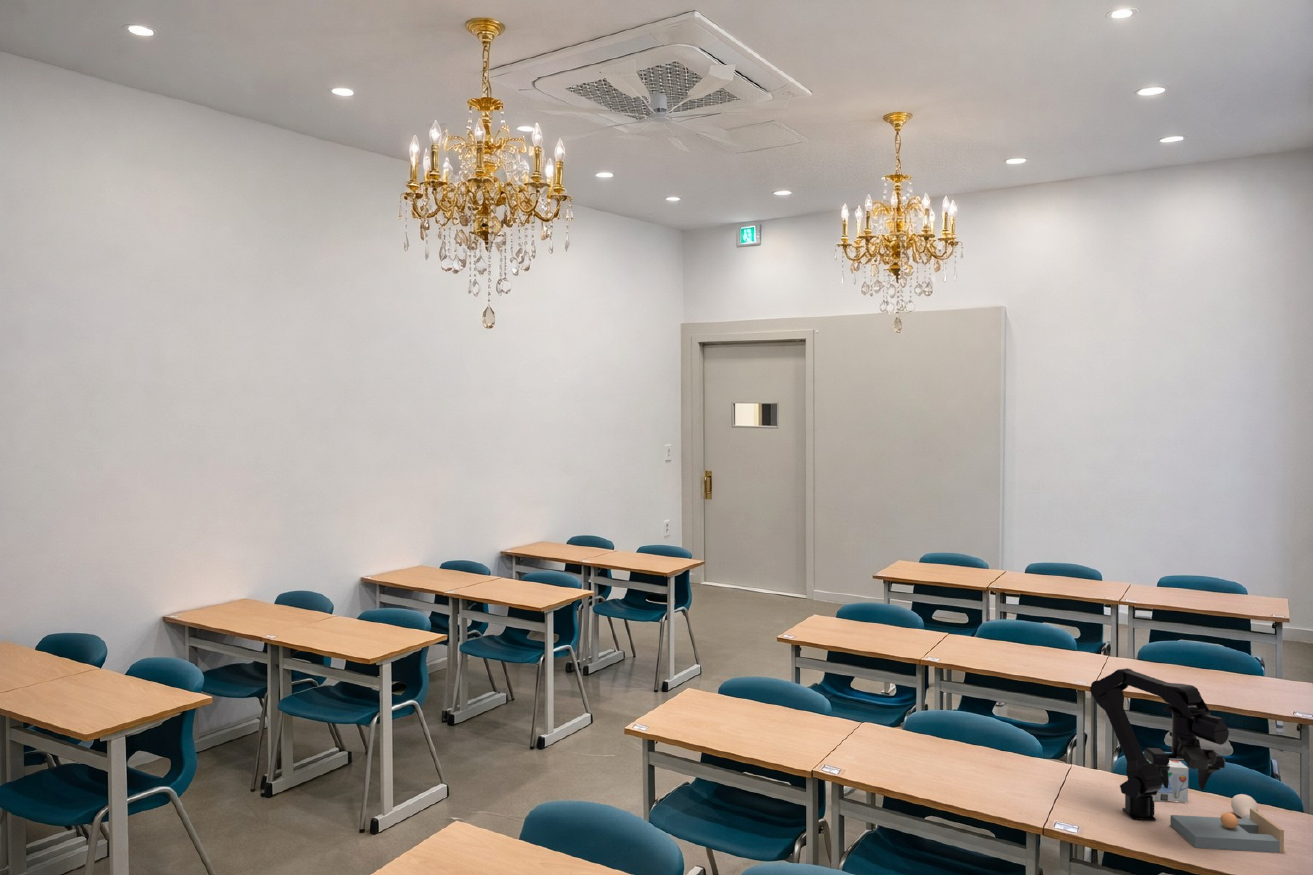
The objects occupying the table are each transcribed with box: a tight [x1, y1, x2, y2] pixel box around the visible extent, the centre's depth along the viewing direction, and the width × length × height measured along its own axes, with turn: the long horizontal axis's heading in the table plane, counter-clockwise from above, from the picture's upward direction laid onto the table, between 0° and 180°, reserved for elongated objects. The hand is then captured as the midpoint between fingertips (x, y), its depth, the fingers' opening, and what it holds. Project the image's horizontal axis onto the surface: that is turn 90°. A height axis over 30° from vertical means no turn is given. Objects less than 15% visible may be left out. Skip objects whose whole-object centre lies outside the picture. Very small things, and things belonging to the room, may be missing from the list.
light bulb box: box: [1149, 760, 1190, 803], centre depth 253 cm, size 11×7×11 cm, turn 83°
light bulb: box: [1230, 793, 1259, 819], centre depth 239 cm, size 7×7×11 cm
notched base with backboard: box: [1169, 808, 1285, 854], centre depth 227 cm, size 22×13×6 cm, turn 84°
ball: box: [1220, 812, 1238, 829], centre depth 227 cm, size 4×4×4 cm
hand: (1183, 788), depth 228 cm, fingers open, 9 cm apart
